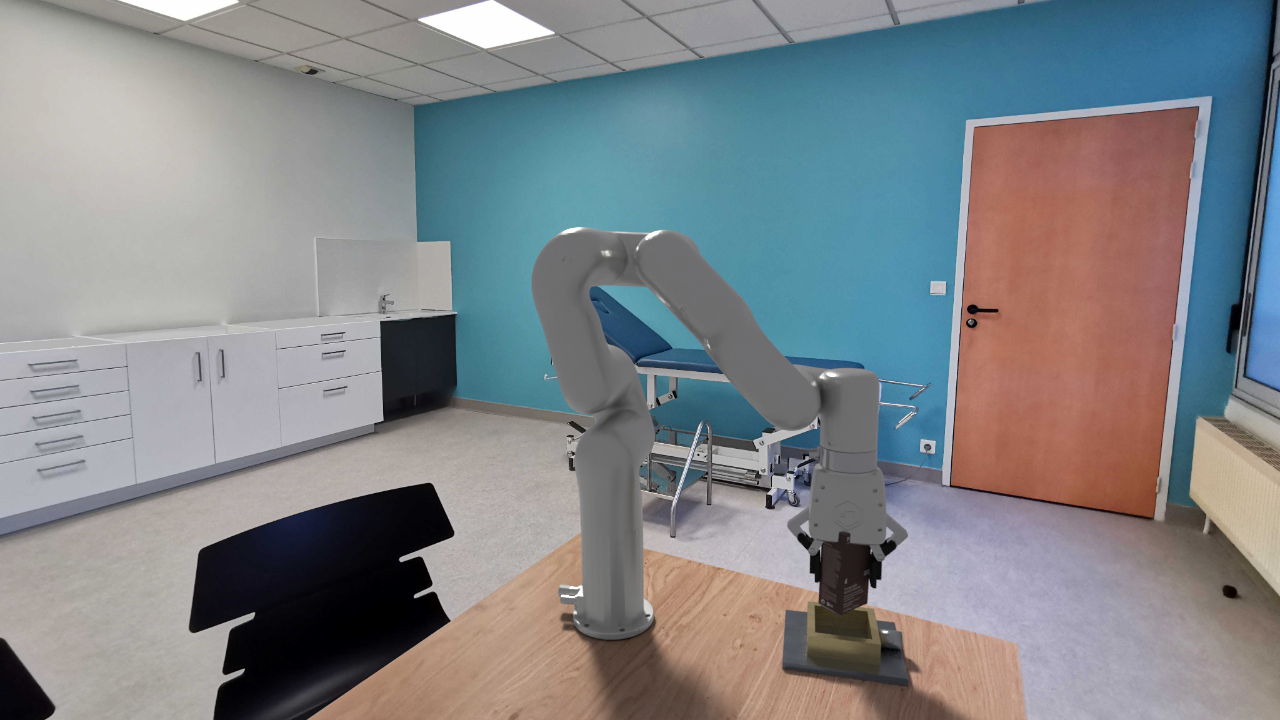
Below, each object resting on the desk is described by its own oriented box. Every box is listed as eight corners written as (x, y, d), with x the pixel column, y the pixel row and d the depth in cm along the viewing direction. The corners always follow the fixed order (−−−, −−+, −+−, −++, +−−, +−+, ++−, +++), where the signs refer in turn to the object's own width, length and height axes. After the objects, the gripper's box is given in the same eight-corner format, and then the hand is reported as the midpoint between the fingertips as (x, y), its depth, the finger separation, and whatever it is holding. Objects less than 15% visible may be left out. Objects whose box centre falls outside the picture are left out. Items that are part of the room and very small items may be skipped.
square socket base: (782, 668, 89) (782, 641, 88) (785, 615, 102) (786, 591, 102) (907, 686, 85) (909, 657, 84) (894, 628, 98) (895, 603, 98)
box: (843, 618, 89) (845, 534, 87) (817, 604, 93) (819, 523, 91) (871, 604, 92) (874, 523, 91) (845, 592, 96) (847, 513, 94)
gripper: (782, 463, 88) (780, 587, 91) (920, 470, 84) (914, 601, 86) (784, 448, 95) (782, 563, 98) (911, 454, 91) (906, 575, 94)
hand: (844, 580), depth 92 cm, fingers closed on box, 6 cm apart
